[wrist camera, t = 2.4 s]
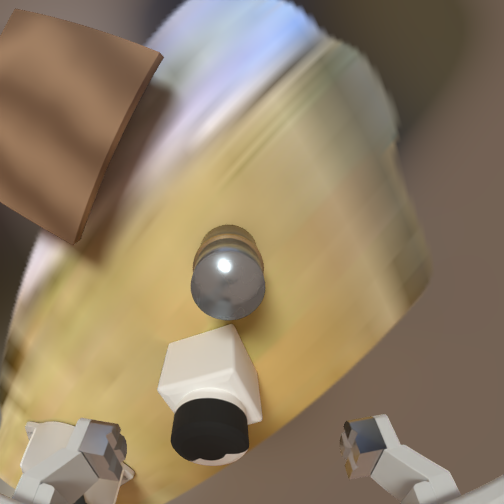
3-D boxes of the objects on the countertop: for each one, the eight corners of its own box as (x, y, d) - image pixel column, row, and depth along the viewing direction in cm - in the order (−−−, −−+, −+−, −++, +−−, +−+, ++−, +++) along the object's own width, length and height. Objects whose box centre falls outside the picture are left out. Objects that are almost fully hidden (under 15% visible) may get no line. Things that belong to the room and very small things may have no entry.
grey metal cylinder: (240, 290, 30) (244, 333, 23) (187, 264, 28) (175, 302, 22) (270, 240, 28) (283, 272, 22) (215, 211, 27) (209, 236, 20)
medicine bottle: (167, 342, 31) (144, 433, 20) (233, 321, 31) (235, 414, 19) (197, 390, 34) (189, 478, 22) (258, 373, 33) (269, 464, 22)
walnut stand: (91, 230, 27) (72, 245, 23) (-22, 165, 23) (-47, 171, 20) (169, 64, 23) (159, 52, 19) (36, 18, 19) (15, 8, 15)
